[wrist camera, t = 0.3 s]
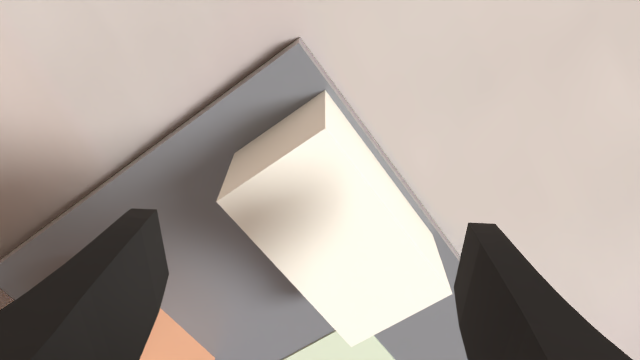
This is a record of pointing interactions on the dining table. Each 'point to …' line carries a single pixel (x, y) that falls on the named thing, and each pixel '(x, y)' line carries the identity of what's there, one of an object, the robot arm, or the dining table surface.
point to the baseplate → (236, 235)
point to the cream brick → (334, 222)
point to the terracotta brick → (172, 342)
